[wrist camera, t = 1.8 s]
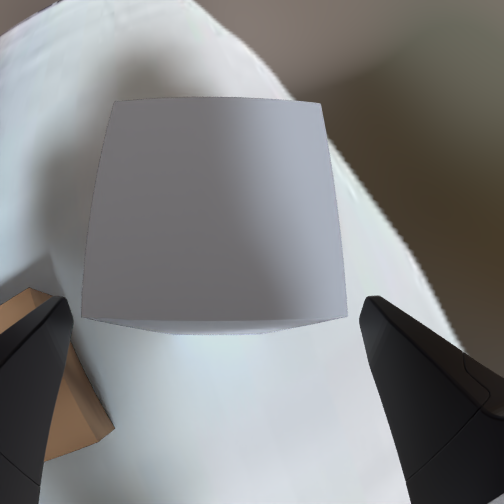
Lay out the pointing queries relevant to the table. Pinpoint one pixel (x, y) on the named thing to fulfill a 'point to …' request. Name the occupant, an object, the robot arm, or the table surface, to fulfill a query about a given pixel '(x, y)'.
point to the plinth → (64, 390)
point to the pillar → (214, 218)
